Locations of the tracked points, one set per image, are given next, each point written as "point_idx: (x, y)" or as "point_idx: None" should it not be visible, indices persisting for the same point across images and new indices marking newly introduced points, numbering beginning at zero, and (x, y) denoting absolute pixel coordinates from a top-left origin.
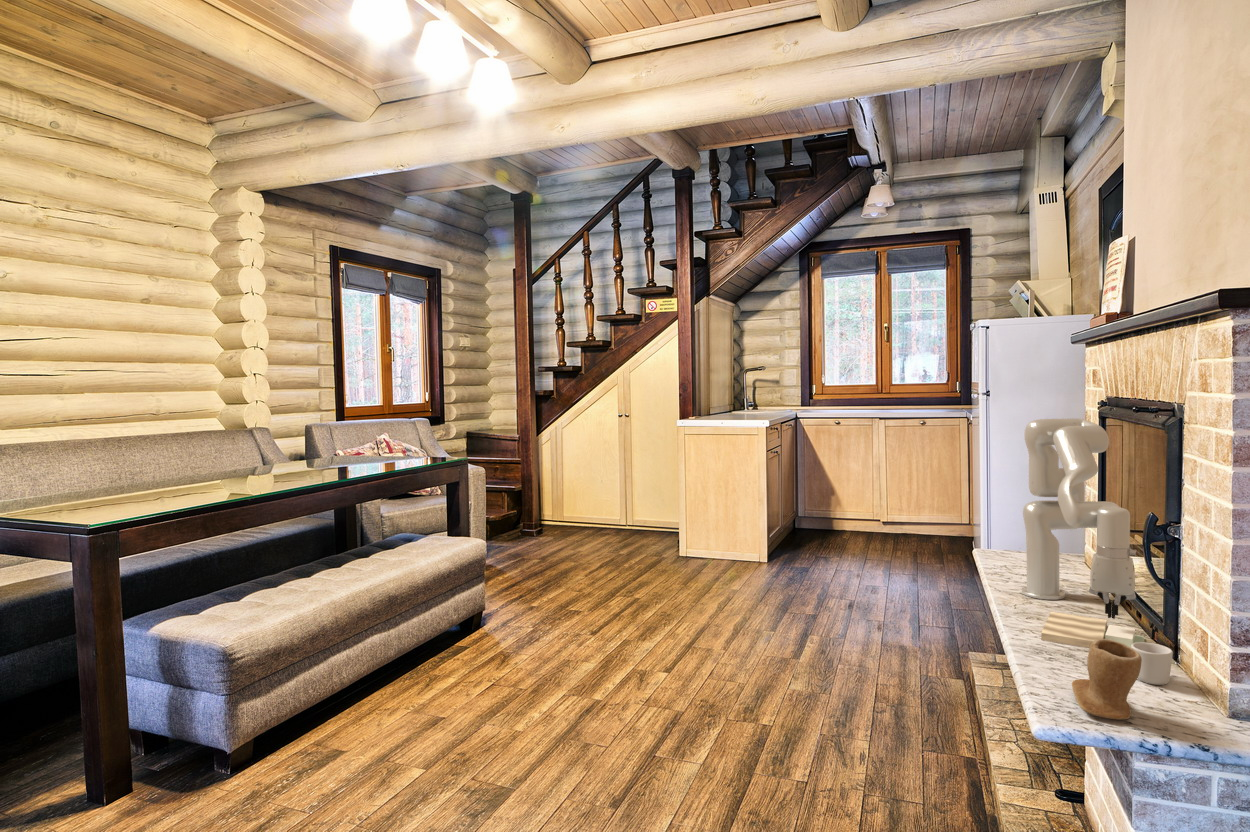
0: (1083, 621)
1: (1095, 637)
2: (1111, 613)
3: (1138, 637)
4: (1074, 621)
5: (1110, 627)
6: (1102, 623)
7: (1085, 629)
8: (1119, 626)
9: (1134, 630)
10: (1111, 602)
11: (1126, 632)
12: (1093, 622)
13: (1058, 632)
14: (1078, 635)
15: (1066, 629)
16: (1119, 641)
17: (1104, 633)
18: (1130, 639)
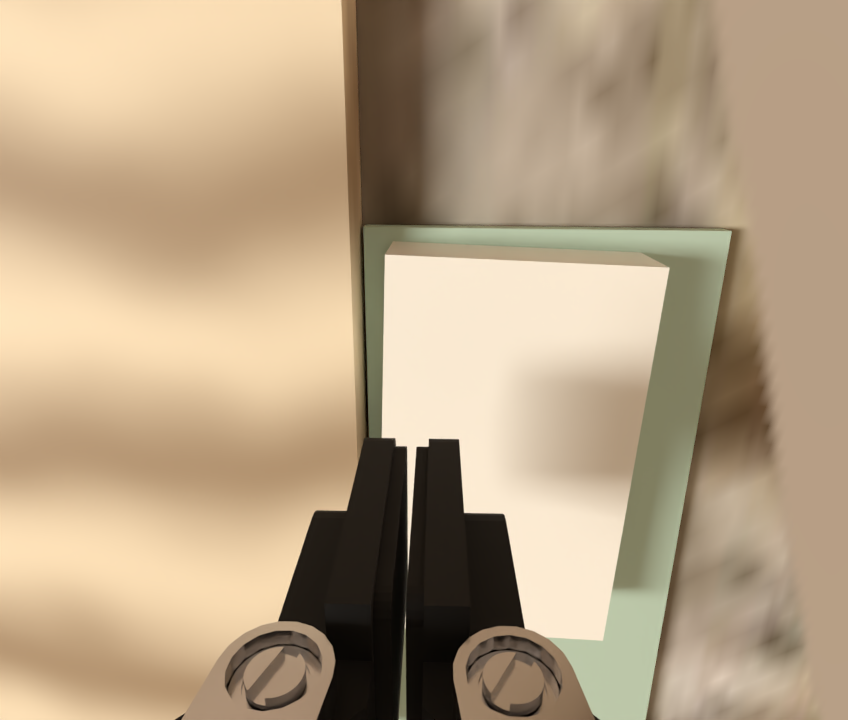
0: (105, 201)
1: None
2: (405, 465)
3: (667, 294)
4: (23, 256)
5: (407, 366)
6: (308, 159)
7: (192, 492)
8: (500, 268)
9: (654, 344)
10: (389, 653)
11: (564, 460)
12: (210, 176)
13: (26, 677)
14: (180, 679)
15: (51, 574)
16: None
17: (361, 416)
18: (586, 636)
